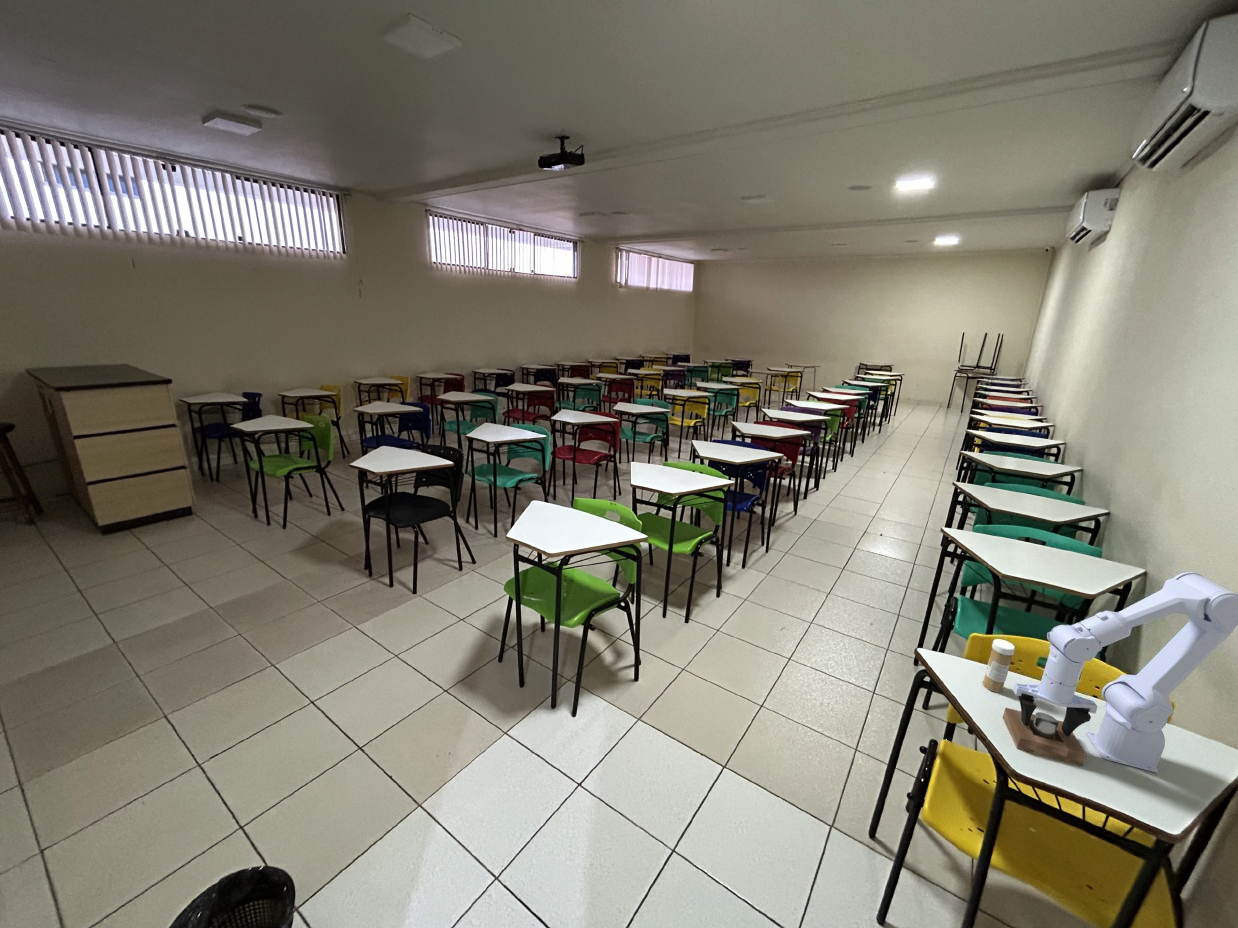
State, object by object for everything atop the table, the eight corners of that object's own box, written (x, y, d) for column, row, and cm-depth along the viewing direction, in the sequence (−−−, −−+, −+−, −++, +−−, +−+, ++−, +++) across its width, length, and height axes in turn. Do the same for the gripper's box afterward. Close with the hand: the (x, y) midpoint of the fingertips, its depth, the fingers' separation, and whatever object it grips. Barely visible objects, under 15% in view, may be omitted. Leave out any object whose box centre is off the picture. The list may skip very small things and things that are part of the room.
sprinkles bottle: (985, 678, 136) (996, 636, 132) (1005, 688, 132) (1017, 644, 128) (979, 686, 133) (991, 642, 129) (1000, 695, 129) (1012, 651, 126)
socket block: (1063, 732, 118) (1066, 722, 117) (1083, 765, 109) (1086, 754, 108) (1002, 717, 122) (1005, 707, 121) (1016, 748, 113) (1020, 737, 112)
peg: (1047, 736, 117) (1053, 715, 115) (1054, 749, 113) (1061, 727, 112) (1026, 730, 118) (1032, 710, 116) (1032, 743, 114) (1039, 722, 113)
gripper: (1092, 675, 112) (1075, 724, 115) (1014, 658, 117) (1001, 706, 121) (1108, 696, 105) (1090, 747, 109) (1025, 677, 111) (1011, 727, 114)
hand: (1044, 727), depth 114 cm, fingers open, 7 cm apart
